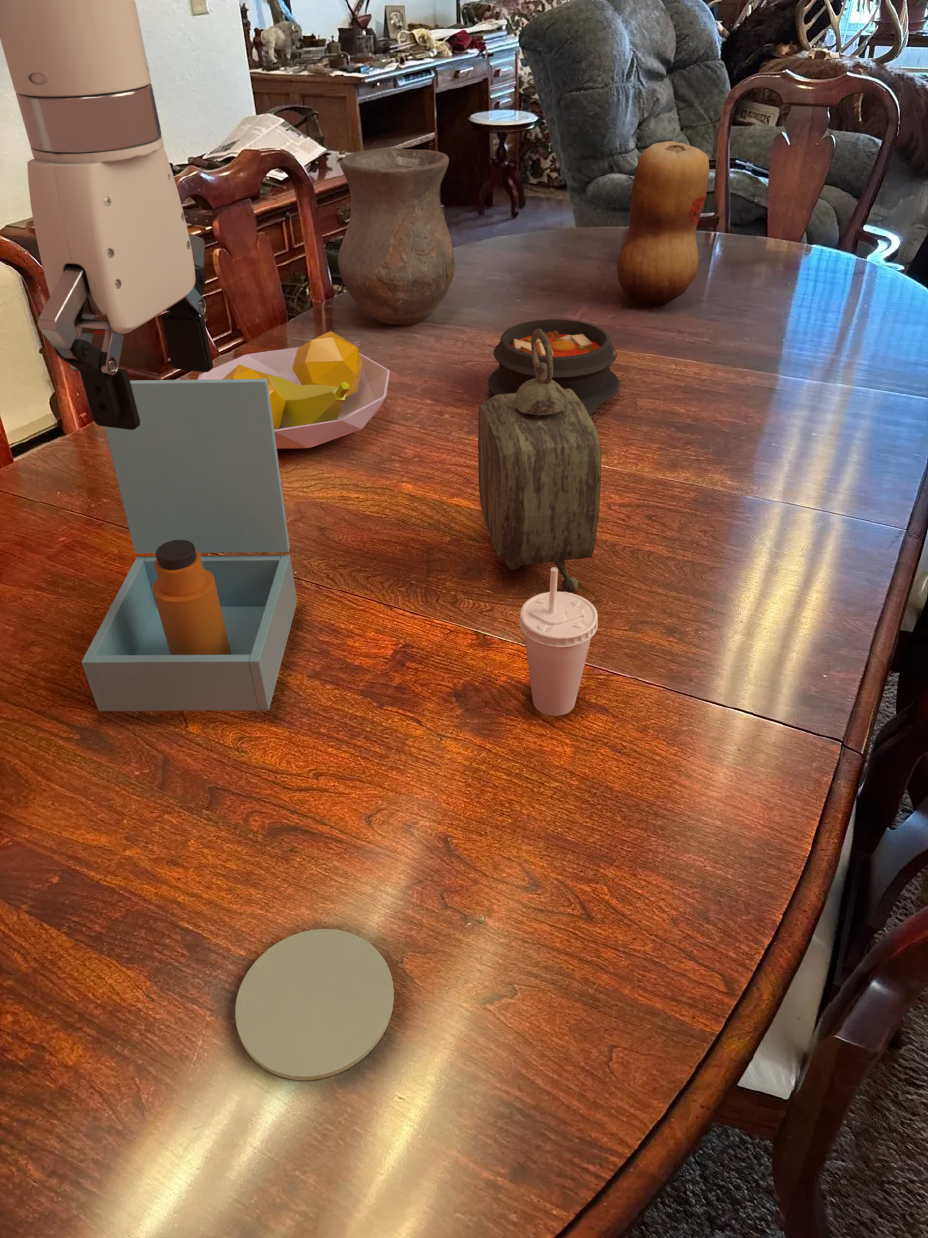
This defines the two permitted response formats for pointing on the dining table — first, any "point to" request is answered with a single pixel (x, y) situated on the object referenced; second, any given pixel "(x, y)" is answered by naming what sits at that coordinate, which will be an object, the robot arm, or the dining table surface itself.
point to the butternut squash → (663, 223)
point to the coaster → (314, 1004)
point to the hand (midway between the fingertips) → (157, 395)
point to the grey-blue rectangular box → (156, 681)
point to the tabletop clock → (539, 472)
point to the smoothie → (557, 646)
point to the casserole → (558, 360)
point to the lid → (201, 467)
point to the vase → (396, 234)
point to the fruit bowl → (314, 388)
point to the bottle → (188, 602)
